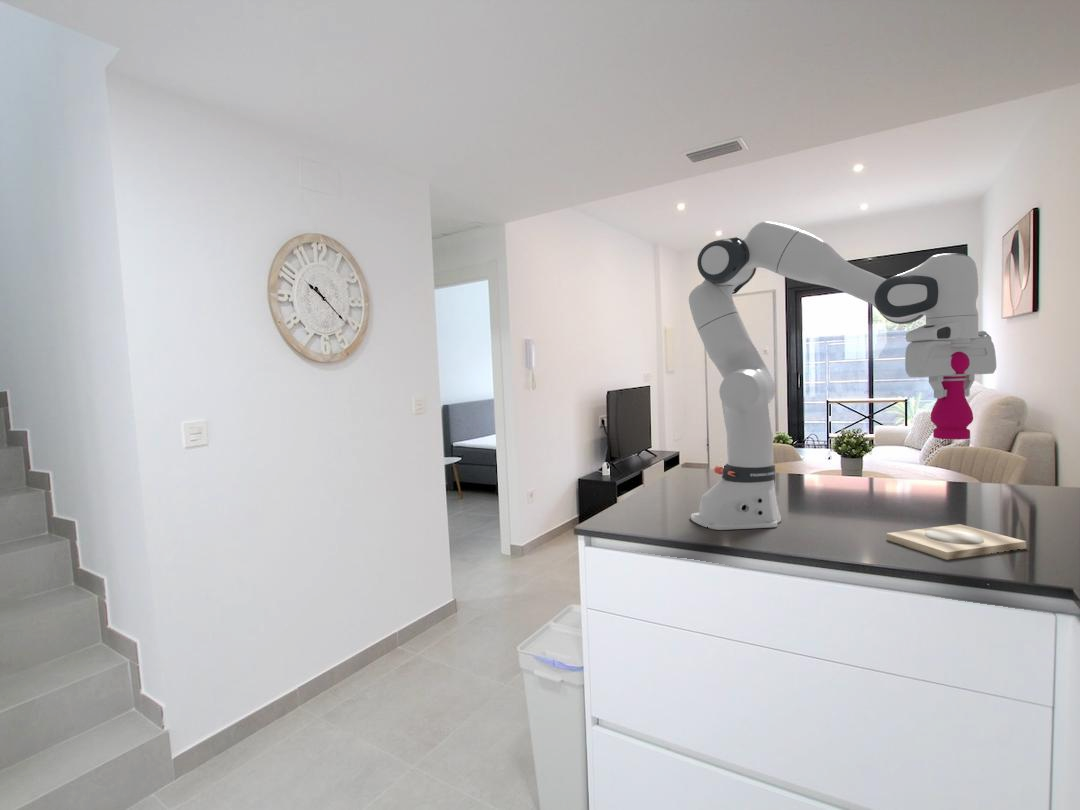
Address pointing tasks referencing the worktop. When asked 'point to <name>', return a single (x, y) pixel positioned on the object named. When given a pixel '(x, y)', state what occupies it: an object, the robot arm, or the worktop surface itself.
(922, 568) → the worktop surface
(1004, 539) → the oak board
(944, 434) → the pepper mill
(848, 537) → the worktop surface
